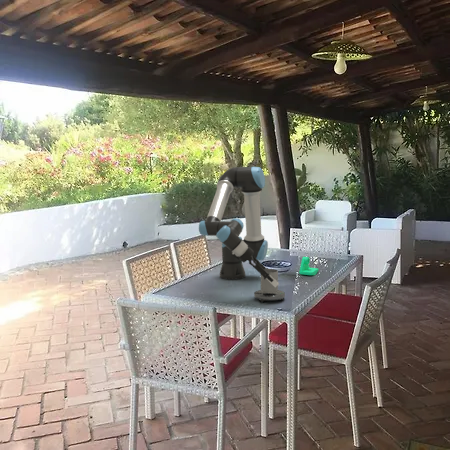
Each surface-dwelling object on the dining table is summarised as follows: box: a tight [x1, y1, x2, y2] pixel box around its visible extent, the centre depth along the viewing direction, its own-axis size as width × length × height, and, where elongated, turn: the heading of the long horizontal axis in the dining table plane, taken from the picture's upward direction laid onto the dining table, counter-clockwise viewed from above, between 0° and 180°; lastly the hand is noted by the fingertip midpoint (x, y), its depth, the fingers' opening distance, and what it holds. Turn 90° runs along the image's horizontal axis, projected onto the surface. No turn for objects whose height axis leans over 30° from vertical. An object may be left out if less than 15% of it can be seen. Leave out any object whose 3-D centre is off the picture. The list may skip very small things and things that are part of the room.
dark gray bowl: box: [253, 289, 286, 303], centre depth 243 cm, size 15×15×3 cm
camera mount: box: [298, 256, 319, 276], centre depth 293 cm, size 12×8×10 cm, turn 149°
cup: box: [260, 268, 279, 293], centre depth 242 cm, size 8×8×10 cm
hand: (276, 282), depth 242 cm, fingers closed on cup, 8 cm apart
